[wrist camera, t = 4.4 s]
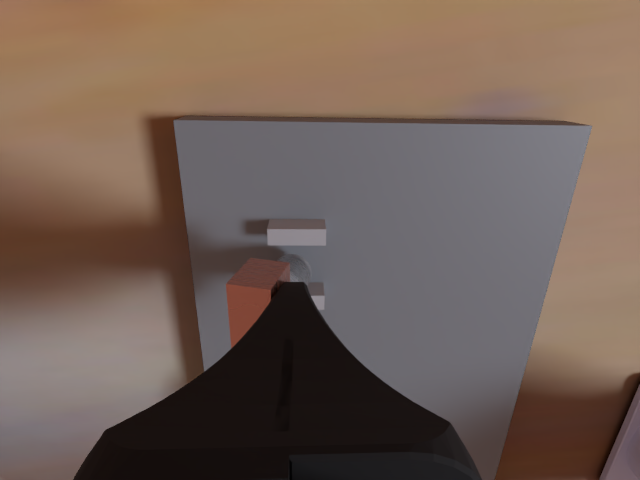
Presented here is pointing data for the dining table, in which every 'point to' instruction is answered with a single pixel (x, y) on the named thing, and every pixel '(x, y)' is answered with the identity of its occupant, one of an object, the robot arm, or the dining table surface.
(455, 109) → the dining table surface
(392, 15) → the dining table surface
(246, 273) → the toggle lever
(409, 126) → the panel
